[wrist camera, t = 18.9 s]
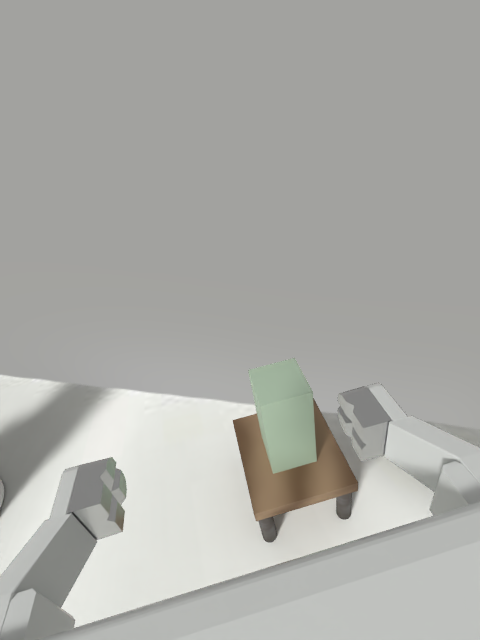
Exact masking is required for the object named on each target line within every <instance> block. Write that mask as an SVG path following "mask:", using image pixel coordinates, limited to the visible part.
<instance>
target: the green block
mask: <svg viewBox="0 0 480 640" xmlns="http://www.w3.org/2000/svg"><path fill="white" fill-rule="evenodd" d="M249 377H250V382H251V387H252V391H253V396H254V401H255V406H256V411H257V416H258V421H259V426H260V430H261V435H262V439H263V442H264V445H265V449H266V452H267V455H268V459H269V462H270V465H271V468H272V472H273V474H274V473H278V472H281V471H285V470H288V469H292V468H295V467H299V466H302V465H305V464H309V463H312V462H316V461H317V457H316V440H315V423H314V406H313V392H312V390H311V388H310V386H309V384H308V382H307V380H306V379H305V377H304V375H303V373H302V371H301V369H300V367H299V366H298V364H297V362H296V360H295V358H293V359H289V360H285V361H281V362H277V363H274V364H270V365H266V366H263V367H259V368H255V369H251V370H249Z"/></svg>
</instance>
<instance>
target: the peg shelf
mask: <svg viewBox="0 0 480 640" xmlns="http://www.w3.org/2000/svg"><path fill="white" fill-rule="evenodd" d="M313 406H314V423H315V440H316V457H317V461H316V462H312V463H309V464H305V465H302V466H299V467H295V468H292V469H288V470H285V471H281V472H278V473H274V474H273V472H272V468H271V465H270V462H269V459H268V455H267V452H266V449H265V445H264V442H263V439H262V435H261V430H260V426H259V421H258V416H257V414H254V415H250V416H247V417H243V418H239V419H236V420H233V424H234V428H235V432H236V437H237V441H238V446H239V450H240V454H241V459H242V463H243V467H244V472H245V476H246V481H247V485H248V489H249V494H250V498H251V503H252V507H253V511H254V515H255V519H256V521H259V524H260V528H261V531H262V535H263V538H264V540H265V541H266V542H273V541H274V540H275V539H276V536H277V533H276V529H275V524H274V520H273V516H276V515H279V514H282V513H286V512H289V511H292V510H295V509H299V508H302V507H305V506H309V505H312V504H315V503H319V502H322V501H325V500H329V499H332V498H335V497H336V512H337V515H338V516H339V517H340V518H341V519H348V518H349V517H350V515H351V498H352V492H355V491H358V482H357V480H356V478H355V476H354V474H353V472H352V471H351V469H350V467H349V465H348V463H347V461H346V459H345V457H344V455H343V453H342V452H341V450H340V448H339V446H338V444H337V442H336V440H335V438H334V436H333V434H332V433H331V431H330V429H329V427H328V425H327V423H326V421H325V419H324V417H323V416H322V414H321V412H320V410H319V408H318V406H317V404H316V402H315V400H314V398H313Z"/></svg>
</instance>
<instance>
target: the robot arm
mask: <svg viewBox="0 0 480 640" xmlns="http://www.w3.org/2000/svg"><path fill="white" fill-rule="evenodd" d="M338 402H339V404H340V407H339V408H338V418H339V422H340V425H341V427H342V429H343V431H344V433H345V435H347V436H349V437H350V438H352V447H353V449H354V450H355V452H356V454H357V456H358V457H359V459H360V461H361V462H362V461H365V460H369V459H373V458H377V457H380V456H384V457H385V458H387V459H388V460H390V461H391V462H392V463H394V464H395V465H397V466H398V467H400V468H401V469H403V470H404V471H405V472H407V473H408V474H410V475H411V476H413V477H414V478H415V479H417V480H418V481H420V482H421V483H423V484H424V485H425V486H427V487H428V488H430V489H431V490H433V491H434V492H435V493H434V496H433V500H432V503H431V506H430V511H431V513H432V514H433V516H431V517H428V518H425V519H422V520H418V521H415V522H412V523H409V524H406V525H402V526H399V527H396V528H393V529H390V530H386V531H383V532H380V533H377V534H374V535H370V536H367V537H364V538H361V539H358V540H354V541H351V542H348V543H345V544H341V545H338V546H335V547H332V548H329V549H325V550H322V551H319V552H316V553H313V554H309V555H306V556H303V557H300V558H297V559H293V560H290V561H287V562H284V563H281V564H277V565H274V566H271V567H268V568H265V569H261V570H258V571H255V572H252V573H249V574H245V575H242V576H239V577H236V578H232V579H229V580H226V581H223V582H220V583H216V584H213V585H210V586H207V587H204V588H200V589H197V590H194V591H191V592H188V593H184V594H181V595H178V596H175V597H172V598H168V599H165V600H162V601H159V602H156V603H152V604H149V605H146V606H143V607H140V608H136V609H133V610H130V611H127V612H124V613H120V614H117V615H114V616H111V617H108V618H104V619H101V620H98V621H95V622H92V623H88V624H85V625H82V626H79V627H76V628H74V624H75V619H74V618H73V616H71V615H70V614H69V613H67V612H66V611H64V610H63V609H61V607H62V605H63V603H64V601H65V600H66V598H67V596H68V594H69V592H70V590H71V589H72V587H73V585H74V583H75V581H76V579H77V578H78V576H79V574H80V572H81V570H82V569H83V567H84V565H85V563H86V561H87V559H88V558H89V556H90V554H91V552H92V550H93V549H94V547H95V545H96V543H97V541H96V540H99V539H102V538H105V537H108V536H111V535H114V534H117V533H120V532H123V523H124V513H125V511H124V509H123V508H122V507H121V505H122V503H123V502H124V500H125V498H126V490H127V489H126V480H125V477H124V474H123V473H122V471H121V470H119V469H116V462H115V460H114V459H113V458H112V457H111V458H107V459H103V460H99V461H95V462H91V463H87V464H83V465H79V466H75V467H71V468H68V469H65V471H64V472H63V474H62V476H61V480H60V483H59V487H58V490H57V494H56V497H55V501H54V504H53V508H52V512H51V515H50V519H49V520H45V521H44V522H43V523H42V525H41V526H40V527H39V528H38V530H37V531H36V532H35V534H34V535H33V536H32V537H31V539H30V540H29V541H28V542H27V544H26V545H25V546H24V547H23V549H22V550H21V551H20V552H19V554H18V555H17V556H16V557H15V559H14V560H13V561H12V562H11V564H10V565H9V566H8V567H7V569H6V570H5V571H4V572H3V574H2V575H1V576H0V640H480V447H477V446H475V445H473V444H471V443H469V442H467V441H465V440H463V439H461V438H458V437H456V436H454V435H452V434H450V433H448V432H446V431H444V430H442V429H439V428H437V427H435V426H433V425H431V424H429V423H427V422H425V421H422V420H420V419H418V418H416V417H414V416H407V415H406V414H405V412H404V411H403V410H402V409H401V408H400V406H399V405H398V404H397V403H396V401H395V400H394V399H393V398H392V397H391V395H390V394H389V393H388V392H387V391H386V389H385V388H384V387H383V386H382V384H380V383H376V384H372V385H368V386H365V387H360V388H357V389H353V390H350V391H347V392H343V393H340V394H339V395H338ZM3 498H4V485H3V483H2V481H1V479H0V508H1V505H2V502H3Z"/></svg>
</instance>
